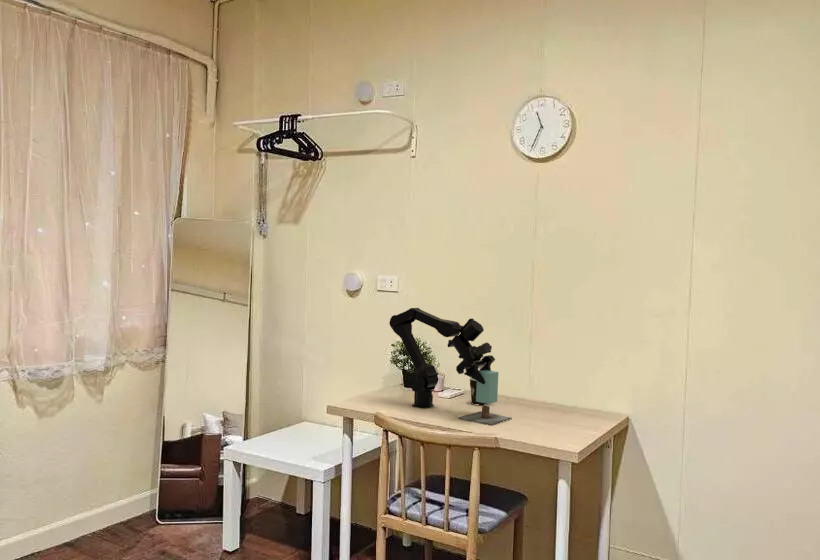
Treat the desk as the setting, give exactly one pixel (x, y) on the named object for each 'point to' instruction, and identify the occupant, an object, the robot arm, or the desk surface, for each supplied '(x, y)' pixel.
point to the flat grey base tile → (485, 417)
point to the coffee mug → (474, 391)
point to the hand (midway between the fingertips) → (488, 382)
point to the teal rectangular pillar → (487, 387)
